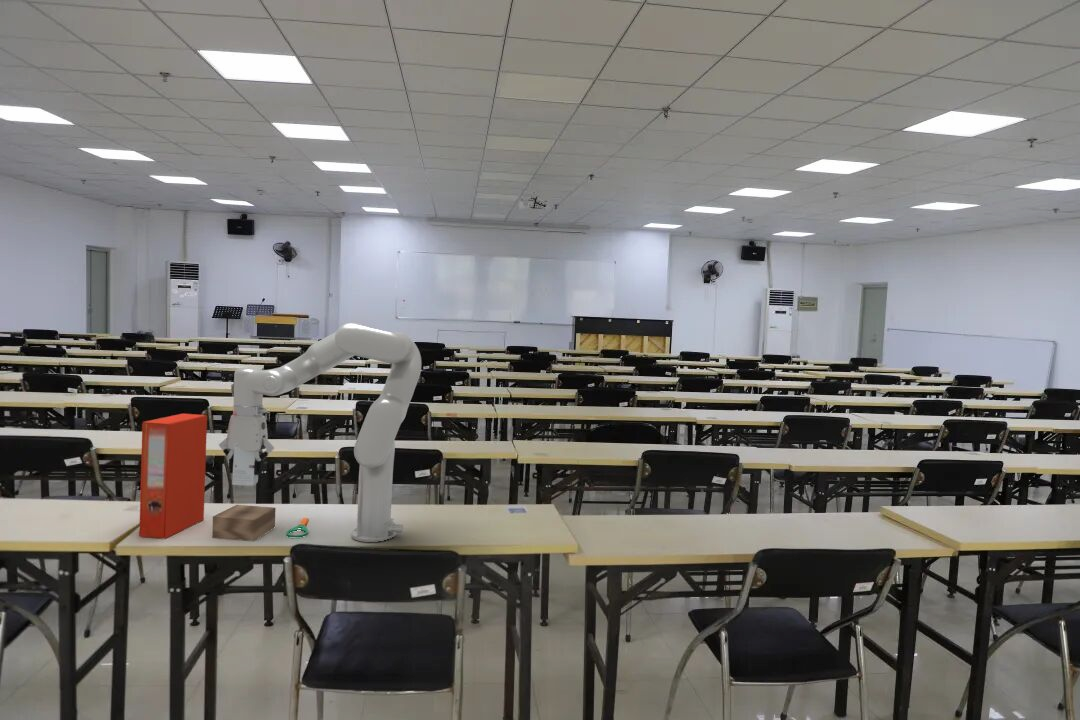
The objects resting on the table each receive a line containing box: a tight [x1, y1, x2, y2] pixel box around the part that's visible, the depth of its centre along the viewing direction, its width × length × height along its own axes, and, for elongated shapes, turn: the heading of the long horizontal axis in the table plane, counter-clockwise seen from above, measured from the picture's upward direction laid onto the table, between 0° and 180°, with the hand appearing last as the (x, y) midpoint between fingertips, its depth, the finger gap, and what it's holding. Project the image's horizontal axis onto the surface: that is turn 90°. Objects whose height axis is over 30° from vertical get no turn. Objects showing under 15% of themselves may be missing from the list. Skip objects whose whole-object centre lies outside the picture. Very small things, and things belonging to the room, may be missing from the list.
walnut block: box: [211, 504, 277, 541], centre depth 184 cm, size 12×12×6 cm
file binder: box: [138, 413, 208, 540], centre depth 184 cm, size 8×17×32 cm, turn 176°
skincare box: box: [231, 443, 259, 487], centre depth 183 cm, size 6×4×12 cm
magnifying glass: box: [285, 517, 310, 538], centre depth 189 cm, size 15×6×2 cm, turn 9°
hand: (245, 472), depth 183 cm, fingers closed on skincare box, 6 cm apart
